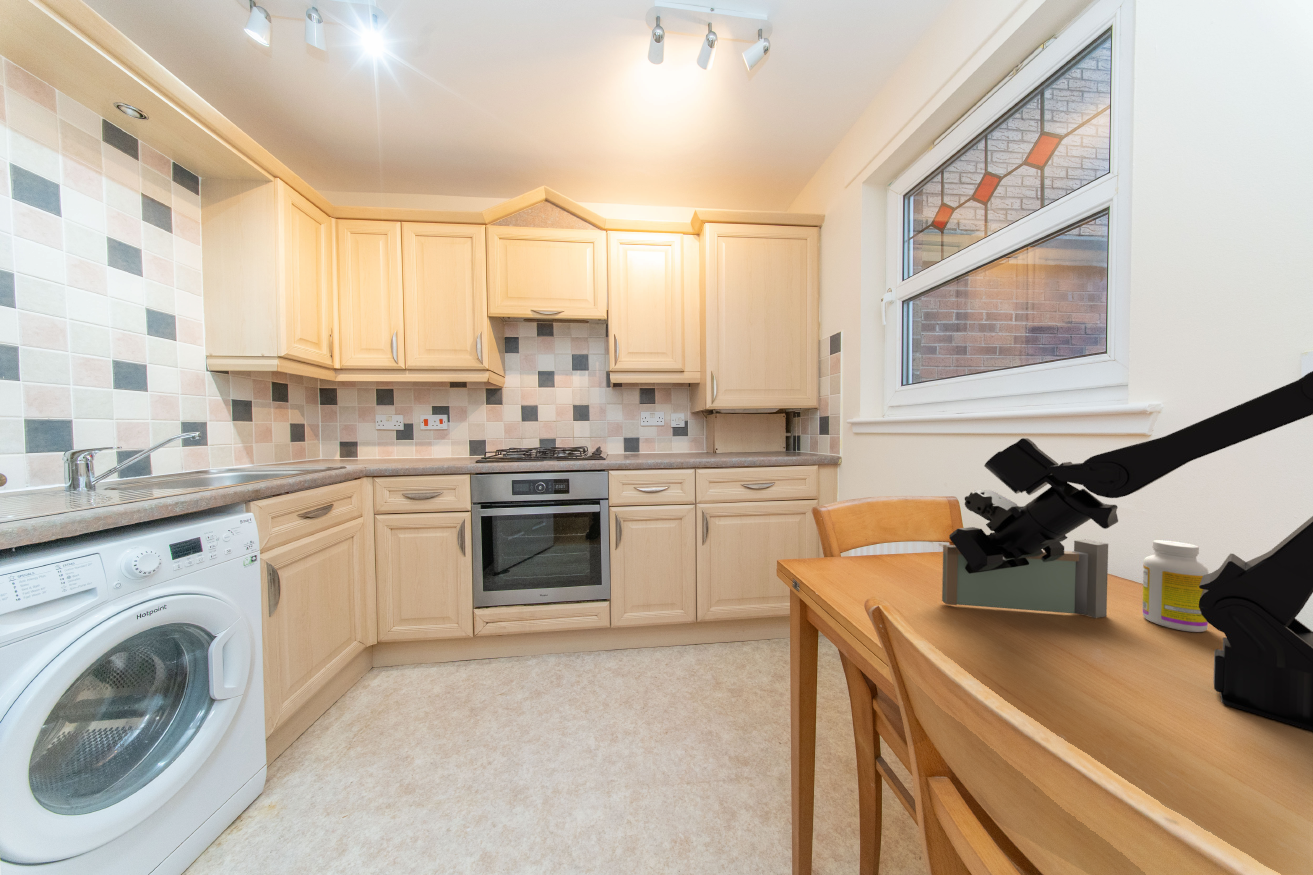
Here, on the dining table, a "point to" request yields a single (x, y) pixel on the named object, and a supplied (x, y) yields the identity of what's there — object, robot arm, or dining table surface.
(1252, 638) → the robot arm
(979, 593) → the gate
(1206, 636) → the dining table surface
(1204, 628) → the supplement bottle
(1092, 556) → the gatepost
